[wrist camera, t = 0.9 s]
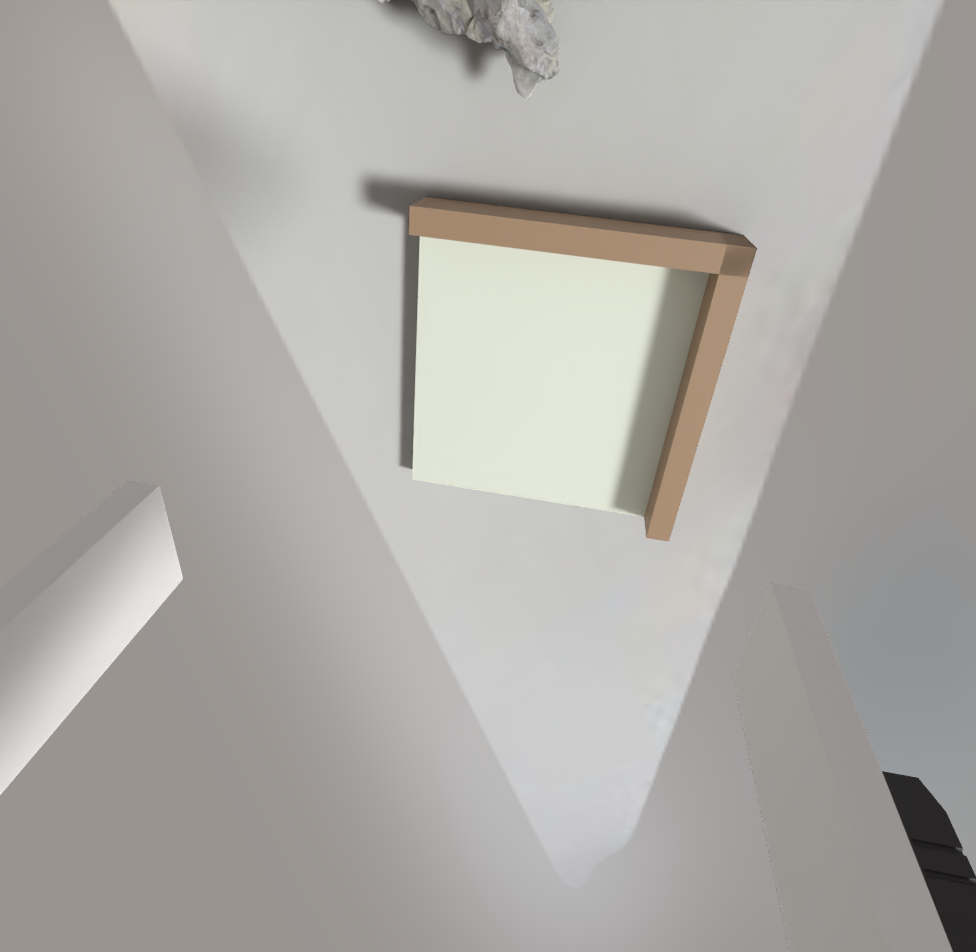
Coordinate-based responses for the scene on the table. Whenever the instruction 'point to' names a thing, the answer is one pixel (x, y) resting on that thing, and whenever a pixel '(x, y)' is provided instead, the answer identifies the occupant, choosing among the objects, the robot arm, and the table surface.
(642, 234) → the corner
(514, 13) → the stone
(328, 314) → the table surface
